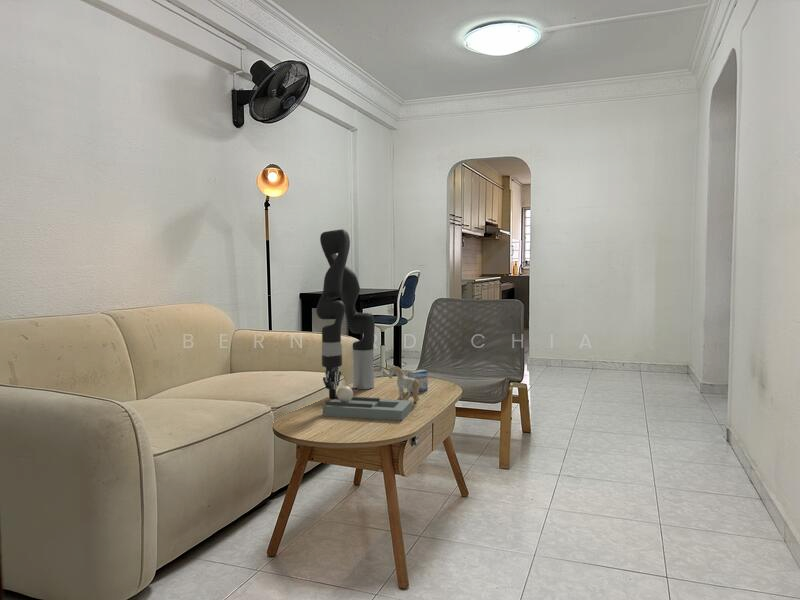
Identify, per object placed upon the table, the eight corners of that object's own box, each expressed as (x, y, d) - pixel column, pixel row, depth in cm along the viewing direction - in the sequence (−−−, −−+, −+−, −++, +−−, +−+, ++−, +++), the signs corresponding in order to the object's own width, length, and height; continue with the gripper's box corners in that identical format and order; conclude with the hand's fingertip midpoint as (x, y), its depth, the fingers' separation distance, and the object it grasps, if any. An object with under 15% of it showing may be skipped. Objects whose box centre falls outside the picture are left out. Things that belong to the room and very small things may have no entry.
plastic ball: (340, 399, 223) (340, 384, 223) (355, 400, 221) (355, 385, 221) (334, 403, 217) (334, 387, 217) (350, 404, 216) (349, 388, 215)
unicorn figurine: (390, 395, 244) (390, 363, 244) (428, 402, 232) (428, 368, 231) (379, 398, 239) (379, 366, 238) (417, 405, 227) (417, 371, 226)
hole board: (337, 405, 228) (337, 394, 228) (412, 409, 221) (412, 398, 220) (322, 415, 214) (322, 403, 214) (402, 420, 206) (402, 408, 206)
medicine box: (414, 393, 248) (414, 372, 248) (407, 391, 252) (407, 371, 251) (428, 390, 253) (428, 370, 253) (421, 388, 257) (421, 369, 256)
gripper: (329, 350, 227) (330, 394, 228) (315, 356, 214) (316, 402, 215) (347, 351, 225) (348, 395, 226) (334, 356, 212) (335, 403, 213)
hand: (332, 398), depth 221 cm, fingers closed
